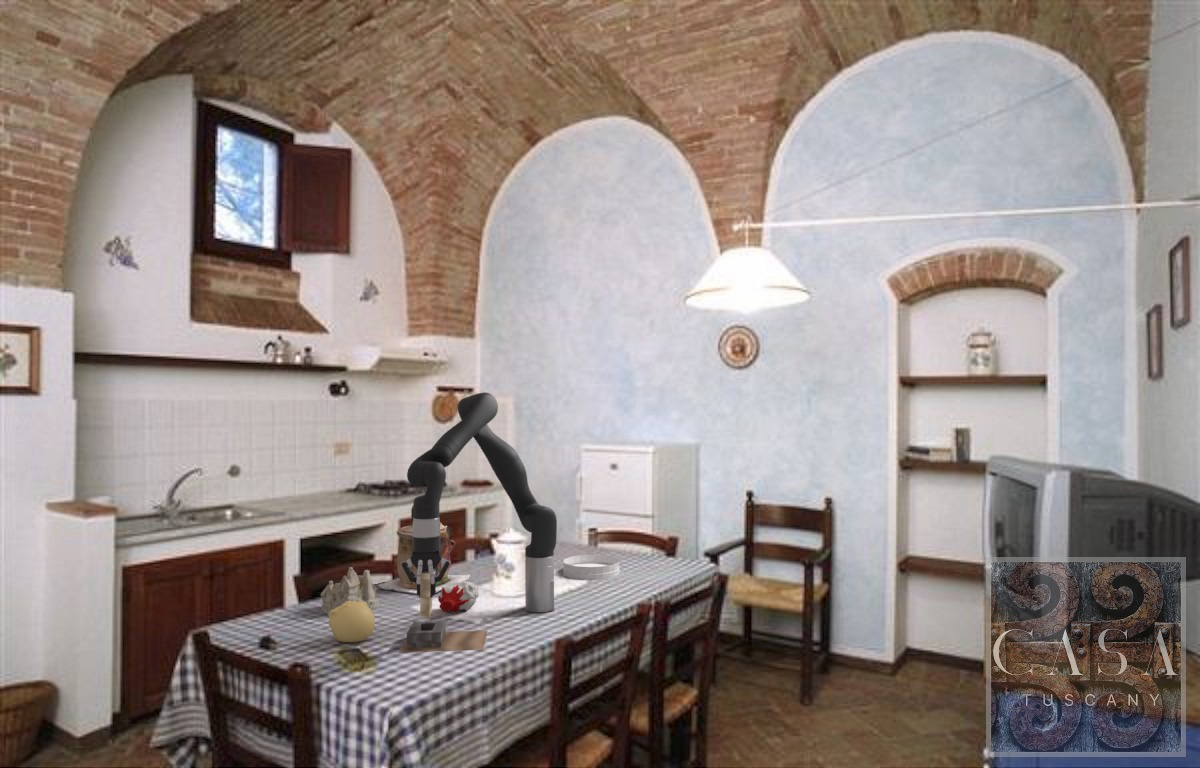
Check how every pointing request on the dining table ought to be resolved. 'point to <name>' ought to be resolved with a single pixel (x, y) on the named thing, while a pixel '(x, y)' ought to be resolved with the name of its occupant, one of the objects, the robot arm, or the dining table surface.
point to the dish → (591, 567)
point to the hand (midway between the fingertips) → (426, 596)
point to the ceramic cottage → (350, 591)
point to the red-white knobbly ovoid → (458, 596)
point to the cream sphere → (351, 621)
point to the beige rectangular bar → (425, 595)
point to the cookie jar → (404, 555)
